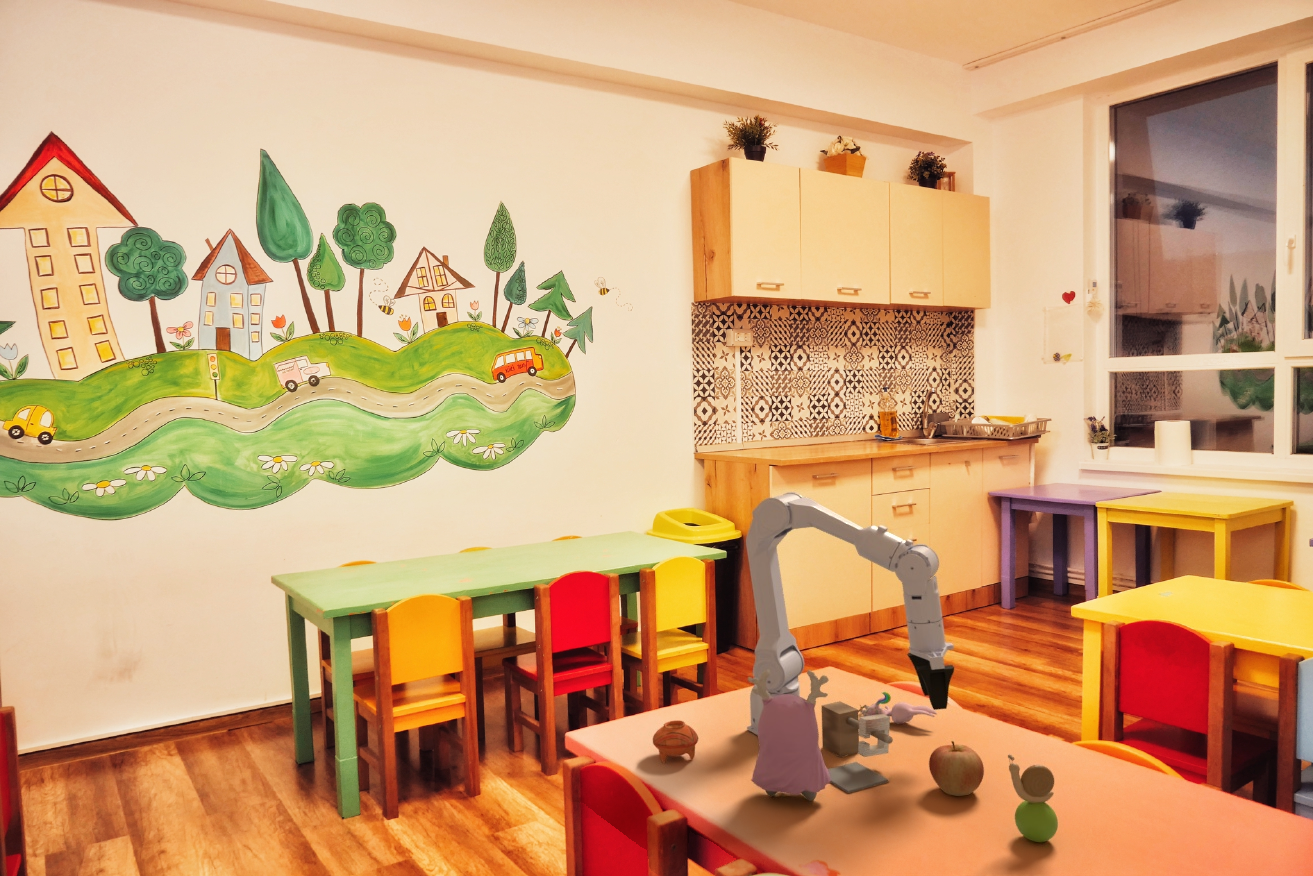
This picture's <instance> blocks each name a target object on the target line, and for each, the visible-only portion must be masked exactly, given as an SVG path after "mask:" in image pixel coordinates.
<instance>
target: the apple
mask: <svg viewBox="0 0 1313 876" xmlns="http://www.w3.org/2000/svg"><path fill="white" fill-rule="evenodd" d="M982 760H983V759H982V758H981V756H979V754H978V753H977V752H976V751H975V750H974V749H973V748H971V747H969V746H967V745H963V744H955V741H953V740H951V744H948V745H947V744H946V745H940V746H938V747H937V748H935V749H934V750H933V751H932V753H931V754H930V757H929V760H928V768H929V771H930V774H931V777H932V779H933V780H934V782H935V783H936V786H938V787H939V788H940V789H941V791H943V792H944V793H945V794H947V795H950V796H956V797H960V796H967V795H970V794H972V793H973V792H975V791H976V790H978V788H979V787H980V785H981V783H982V782H983V778H984V775H985V767H984V764H983V763H984V762H983V761H982Z"/></svg>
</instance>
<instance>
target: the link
mask: <svg viewBox="0 0 1313 876" xmlns="http://www.w3.org/2000/svg"><path fill="white" fill-rule="evenodd" d="M890 718H891V716H890V717H889V716H887V715H884V714H880V715H872V716H865V717H864V716H860V717H859V718H858V721H859V737H860V738H863V739H865V740H866V739H871V735H870V732H873V731H880V732H882V733H884V734H886V735H889V736H890V721H891V719H890ZM889 745H890V744H888V743H886V742H884V741H882V740H880V739H877V743H876V744H874V745H870V743H868V742H866V741H864V740H859V743H858V753H857V754H858V755H859V756H862V757H864V758H866V757H867V758H868V757H874V756H880V755H885V754H889Z"/></svg>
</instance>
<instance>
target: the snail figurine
mask: <svg viewBox="0 0 1313 876" xmlns="http://www.w3.org/2000/svg"><path fill="white" fill-rule="evenodd" d="M1007 758H1008V759H1009V762H1010V763H1009V765H1008V771H1009V773H1010V776H1011V782H1012V785H1013V788H1014V790H1015V792H1016V794H1017V796H1018V797H1019V798H1020V799H1021V800H1023V801H1022V802H1021V803H1020V804H1019V805H1017V808H1016V810H1015V814H1014V822H1015V824H1016V825H1015V826H1016V828H1017V830H1018V831H1019V832H1020V834H1021V836H1024V837H1025V838H1026V839H1027V840H1029V841H1032V842H1036V843H1044V842H1047V841H1049V840H1051V839H1052V838H1053V837H1055V835H1056V833H1057V831H1058V827H1059V822H1058V816H1057V814H1056V811H1054V808H1052V806H1050V805H1049V804H1048V803H1046V802H1048V801H1050V800H1051V798H1052V797H1053V796H1054V791H1052V790H1053V789H1054V786H1055V777H1054V774H1053V772H1052V771H1051V770H1050V768H1048V766H1047V767H1046V766H1045V765H1042V764H1033V765H1030V766H1029V767H1027V768H1026V769H1024V771H1023V773H1022V775H1021V776H1020V770H1021V768H1020V765H1019V764H1017V763H1016V762H1013V761H1014V760H1015V757H1014V756H1013V755H1012V754H1010V753H1009V754H1008V755H1007Z"/></svg>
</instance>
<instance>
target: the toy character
mask: <svg viewBox="0 0 1313 876" xmlns="http://www.w3.org/2000/svg"><path fill="white" fill-rule="evenodd" d="M769 674H770V670H767V671H766V672H764V673H762V675H761V678H760V680H758V679H757V678H754V677H753V678H752V677H750V676H748V677H747V681H748V682H749V683H751V684H754V685H757V689H752V688H751V691H753V692H754V693H755V694H758V695H759V696H761V697H762V698H763V699H762V702H763V705H764V706H763V710H762V713H761V715H760V719H759V723H758V735H757V737H758V743H759V749H758V755H757V758H756V761H755V764H754V765H755V766H754V769H753V773H752V778H751V780H750V781H751V782H753V784H754V785H756V786H757V787H758V788H760V789H761V790H763V791H765V793H766V795H767V796H768V797H773V796H775V795H776V794H778V793H782V794H783V793H784V794H789V795H792V796H799V795H800V794H801V795H802V796H803V797H804V798H805V799H806V800H808V802H809V801H810V802H813V801H814V800H815V799H816V798H817V793H819V792H821V791H822V790H825V789H826V786H827V785H828V784H830V781H831V778H830V774H829V771H828V770H827V769H828V768H827V767H826V764H825V761H824V758H823V754H822V752H821V749H820V748H821V747H820V745H819V739H820V738H819V737H820V736H819V735H820V734H819V733H820V732H819V727H818V722H817V717H816V711H815V707H816V704H817V701H816V700H817V699H818V698H826V697H828V693H826V692H822V691H821V686H822V685H824V684H827V683H828V682H829V680H830V679H829V678H828V676H827V675H825V674H822V675H821V676H820V677H819V678H818V676H816V674H815V672H814V671H812V670H810V669H808V670H807V672H806V674H807V676H808V677H809V680H810V693H809V694H808V695H807V698H806V699H805V698H804V697H802V696H801V695H800V696H796V695H789V694H785V695H778V696H776V697H773V696H771V695H770V694H769V693H768V691H767V688H766V679H767V677H768V676H769Z"/></svg>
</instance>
